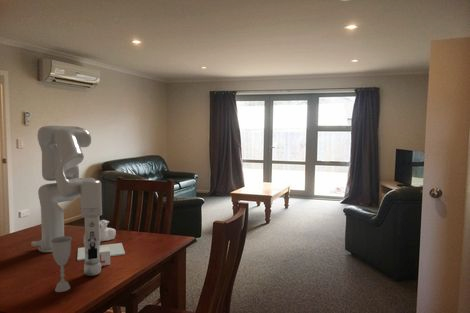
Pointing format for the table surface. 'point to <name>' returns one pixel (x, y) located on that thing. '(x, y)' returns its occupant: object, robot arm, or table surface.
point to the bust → (106, 231)
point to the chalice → (61, 258)
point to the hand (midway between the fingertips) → (92, 254)
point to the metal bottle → (91, 260)
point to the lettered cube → (104, 256)
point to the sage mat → (114, 248)
